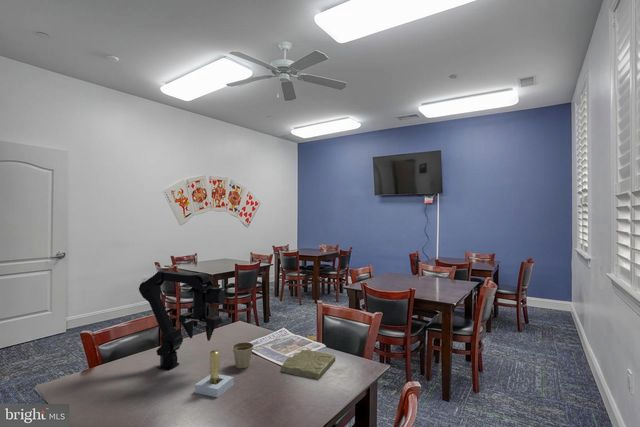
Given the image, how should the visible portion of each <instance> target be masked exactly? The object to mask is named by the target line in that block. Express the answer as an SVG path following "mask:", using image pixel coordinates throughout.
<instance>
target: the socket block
mask: <svg viewBox="0 0 640 427" xmlns="http://www.w3.org/2000/svg"><path fill="white" fill-rule="evenodd" d="M234 383H235V382H234V376H230V375H226V374H220V373H219V383H218V384H216V385H215V384H210V374H209V375H207V376H206V377H204V378H202V379H201V380H200V381H198V382H197V383H195V384H194V393H196V394H200V395H203V396H204V395H205V396H209V397H214V398H219V397H221V396H222V395H223V394H224V393H225V392H226V391H228V390H229V389H230V388H232V387H233V386H234Z"/></svg>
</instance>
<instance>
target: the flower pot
mask: <svg viewBox="0 0 640 427" xmlns="http://www.w3.org/2000/svg"><path fill="white" fill-rule="evenodd" d="M254 345H255V344H254V343H252V342H248V341H242V342H241V341H240V342H237V343H235V344H233V345H232V346H231V349H232V352H233V356H234V364H235V367H236V368H237V369H247V368H248V367H250V366H251V360H252V353H253V349H254V347H255V346H254Z"/></svg>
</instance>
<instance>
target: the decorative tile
mask: <svg viewBox="0 0 640 427" xmlns="http://www.w3.org/2000/svg"><path fill="white" fill-rule="evenodd" d="M335 362H336V356H335V355H334V354H330V353H327V352H321V351H317V350H311V349H302V350H301V351H300V352H299V353H297V354H295V355H293V356H289V357H287V358H286V359H285V361H283V364H281V366H280V372H281V373H286V374H289V375H290V374H291V375H295V376H299V377H303V378H309V379H314V380H320V379H321V377H322V376H324V375H325V373H326V372H327V370H329V368H330V367H332V365H333V364H334V363H335Z"/></svg>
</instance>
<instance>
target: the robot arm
mask: <svg viewBox="0 0 640 427" xmlns="http://www.w3.org/2000/svg"><path fill="white" fill-rule="evenodd" d="M165 282H172V283H180V284H184V285H185V284H186V285H187V286H189V287H190V289H188V291H187V293H192V305H191V306H190V309H192V312H185V313H182V314H179V315H178V317H177V318H178V319H177V321H178V323H180V325H182V327H183V328H184V329H185V331H186V333H187V335H188V337H189V339H193V336H194V323H195V322H199V323H200V322H201V323H205V325H206V326H204V327H205V328H204V329H205V333H206V334H205V336H206V340H207V342H209V341H211V338H212V335H213V333H214V331H215V329H216V328H217V326H219V325H221V324H222V323H223V319H222V317H221V316H219V315H218V316H217V315H216V311H217V308H215V307H210V305H211V304H212V305H222V304H223V303H224V302H225V299H226V294H225V292H224V290H223V287H215V285H214V283H213V282H212V280H211V279H210V275H209V274H208V273H206V272H195V273H186V272H178V271H171V270H166V269H163V270H159V271H157V272H156V273H154V275H152V276H151V277H149V278H148V279H147V280H145V281H143V282H141V283H140V284H139V287H138V291H139V293H140V295H141V296H142V298H143V299H144V300H145V301H147V302H148V304H149V306H150V309H151V310H152V313H153V315H154V318H155V320H156V322H157V326H158V327H159V330H160V332H161V335H160V343H161V345H160V346H159V347H158V348H157V349H156V354H157V356H160V357H159V358H160V359H159V362H160V363H159V365H158V366H157V369H160V370H167V371H170V370H171V369H174V368H176V367H177V366H179V365H180V363H179V362H178V354H177V353H178V351H177V350H180V347H181V345H182V344H183V342H184V339H183V337H184V335H183V333H182V332H181V328H175V327H174V326H173V324H172V322H171V319H170V316H169V314H168V312H167V309H166V307H165V305H164V302H163V300H162V296H161V295H162V287H161V286H163V284H164V283H165Z"/></svg>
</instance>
